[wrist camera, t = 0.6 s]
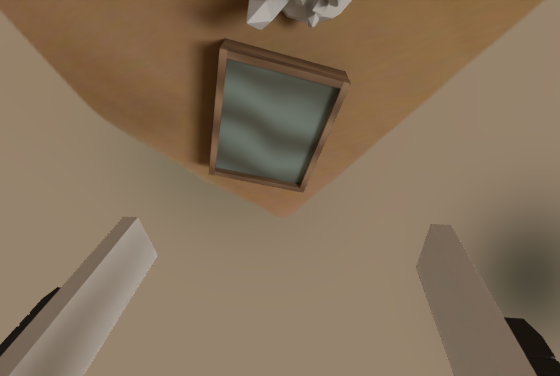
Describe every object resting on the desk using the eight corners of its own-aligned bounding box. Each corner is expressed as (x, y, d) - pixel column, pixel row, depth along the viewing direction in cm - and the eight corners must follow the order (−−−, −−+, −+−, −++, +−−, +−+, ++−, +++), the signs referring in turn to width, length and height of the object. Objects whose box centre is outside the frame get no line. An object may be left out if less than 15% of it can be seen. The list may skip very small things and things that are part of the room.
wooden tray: (225, 38, 30) (219, 48, 27) (345, 71, 32) (350, 83, 30) (213, 158, 42) (208, 174, 39) (302, 177, 44) (303, 192, 41)
